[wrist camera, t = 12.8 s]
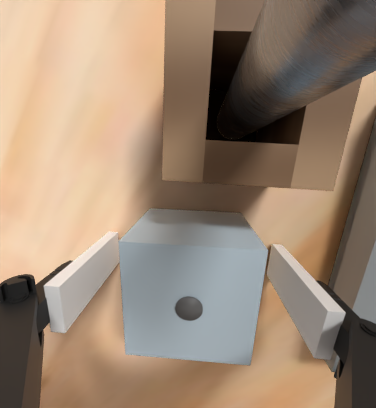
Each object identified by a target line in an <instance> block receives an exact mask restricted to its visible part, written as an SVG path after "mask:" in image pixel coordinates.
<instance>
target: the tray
mask: <svg viewBox="0 0 376 408" xmlns="http://www.w3.org/2000/svg"><path fill="white" fill-rule="evenodd" d="M328 286H329V287H330V288H331V289H332V290H333V291H334V292H335V294H336V295H338V296H339V297H340V298H341V300H343V301H344V302H345V303H346V304H347V305H348V306H349V307H350V308H351V309H352V310H353V311H354V312H355V313H356V314H357V315H358V316H359V317H360V318H361V319H365V320H368V321H371V322H373V323H375V324H376V118H375V122H374V125H373V129H372V132H371V136H370V139H369V143H368V146H367V150H366V153H365V157H364V161H363V164H362V168H361V171H360V175H359V178H358V182H357V185H356V189H355V192H354V196H353V199H352V203H351V206H350V210H349V213H348V217H347V221H346V224H345V228H344V231H343V235H342V238H341V242H340V245H339V249H338V252H337V256H336V259H335V263H334V266H333V270H332V273H331V277H330V281H329V284H328ZM339 359H340V358H339V357H338V355H337V354H336V352H335V351H333V354H332V357H331V360H327V359H324V360H325V362H326V363H327V365H328V366H329V368H330V370H331V371H332V372H335V371H336V368H337V365H338V362H339Z"/></svg>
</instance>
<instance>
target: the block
mask: <svg viewBox="0 0 376 408" xmlns="http://www.w3.org/2000/svg"><path fill="white" fill-rule="evenodd" d="M118 243H119V258H120V274H121V290H122V306H123V321H124V337H125V353H126V354H127V355H138V356H150V357H161V358H172V359H183V360H194V361H205V362H217V363H228V364H239V365H250V364H251V358H252V351H253V345H254V339H255V332H256V326H257V319H258V313H259V306H260V300H261V294H262V287H263V281H264V274H265V268H266V262H267V255H268V249H267V248H266V247H265V245H264V244H263V242H262V241H261V240H260V238H259V237H258V236H257V234H256V233H255V232H254V230H253V229H252V227H251V226H250V225H249V223H248V222H247V221H246V219H245V218H244V217H243V215H242V214H241V213H234V212H214V211H194V210H174V209H154V208H150V209H149V210H148V211H147V212H146V213H145V214H144V215H143V216H142V217H141V218H140V219H139V220H138V221H137V223H136V224H135V225H134V226H133V227H132V228H131V229H130V230H129V231H128V232H127V233H126V234H125V235H124V236H123V237H122V238H121V239H120V240H119V241H118Z"/></svg>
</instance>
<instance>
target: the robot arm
mask: <svg viewBox="0 0 376 408" xmlns="http://www.w3.org/2000/svg"><path fill="white" fill-rule="evenodd" d="M118 263H119V243H118V232H108V233H107V234H105V235H104V236H103V237H102V238H100V239H99V240H98V241H97V242H96V243H94V244H93V245H92V246H91V247H90V248H88V249H87V250H86V251H85V252H84V253H82V254H81V255H80V256H79V257H78V258H76V259H75V260H74V261H68V262H66V263H64V264H62V265H61V266H59V267H58V268H57V269H55V271H53V272H52V273H50V275H48V276H46V277H45V278H44V279H43V280H41V281H40V282H39V283H38V284H36V285H35V279H34V276H32V275H28V274H24V275H18V276H15V277H12V278H9V279H7V280H5V281H3V282H2V283H1V284H0V408H39V407H40V392H41V376H42V360H43V345H44V331H43V329H44V328H45V327H46V326H47V325H48V323H49V322H50V328H51V332H60V333H66V332H67V330H68V329H69V328H70V326H71V325H72V324H73V323H74V321H75V320H76V319H77V317H78V316H79V315H80V313H81V312H82V311H83V309H84V308H85V307H86V305H87V304H88V303H89V301H90V300H91V299H92V297H93V296H94V295H95V294H96V292H97V291H98V290H99V288H100V287H101V286H102V284H103V283H104V282H105V280H106V279H107V278H108V276H109V275H110V274H111V272H112V271H113V270H114V268H115V267H116V266H117V265H118ZM267 276H268V278H269V280H270V282H271V283H272V285H273V287H274V289H275V290H276V292H277V294H278V296H279V297H280V299H281V301H282V303H283V304H284V306H285V308H286V310H287V311H288V313H289V315H290V317H291V318H292V320H293V322H294V324H295V325H296V327H297V329H298V331H299V332H300V334H301V336H302V338H303V340H304V341H305V343H306V345H307V347H308V348H309V350H310V352H311V354H312V355H313V357H314V358H317V359H327V360H331V357H332V354H333V351H335V352H336V354H337V355H338V357H339V358H340V359H339V362H338V365H337V368H336V371H335V374H334V377H335V378H336V379H337V380H336V393H335V406H334V408H376V324H375V323H373V322H371V321H368V320H365V319H361V318H360V317H359V316H358V315H357V314H356V313H355V312H354V311H353V310H352V309H351V308H350V307H349V306H348V305H347V304H346V303H345V302H344V301H343V300H341V298H340V297H339V296H338V295H336V294H335V292H334V291H333V290H332V289H331V288H330V287H329V286H327V285H326V284H324V283H323V282H321V281H316V280H315V279H314V278H313V277H312V276H311V275H310V274H309V273H308V272H307V271H306V270H305V269H304V268H303V267H302V266H301V265H300V263H299V262H298V261H297V260H296V259H295V258H294V257H293V256H292V255H291V254H290V253H289V252H288V251H287V250H286V249H285V247H284V246H283V245H281V244H272V246H271V252H270V257H269V263H268V268H267Z"/></svg>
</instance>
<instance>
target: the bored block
mask: <svg viewBox="0 0 376 408" xmlns="http://www.w3.org/2000/svg"><path fill="white" fill-rule="evenodd" d="M264 1H265V0H166V4H165V54H164V104H163V155H162V180H167V181H183V182H199V183H214V184H230V185H246V186H262V187H278V188H294V189H310V190H326V191H333V190H334V186H335V182H336V178H337V174H338V170H339V166H340V162H341V158H342V155H343V151H344V147H345V143H346V139H347V135H348V131H349V127H350V123H351V119H352V115H353V111H354V107H355V103H356V99H357V95H358V91H359V88H360V84H361V80H362V78H360V79H358V80H356V81H354V82H352V83H350V84H348V85H346V86H344V87H342V88H340V89H338V90H336V91H334V92H332V93H330V94H328V95H326V96H324V97H322V98H320V99H318V100H316V101H314V102H312V103H310V104H308V105H306V106H304V107H302V108H300V109H298V110H296V111H294V112H292V113H290V114H288V115H286V116H284V117H282V118H280V119H278V120H276V121H274V122H272V123H270V124H268V125H266V126H264V127H262V128H260V129H258V130H257V136H256V142H236V141H217V140H206V127H207V113H208V100H209V90H216V91H228V89H229V86H230V84H231V82H232V79H233V77H234V74H235V72H236V69H237V67H238V64H239V62H240V60H241V57H242V55H243V52H244V50H245V47H246V45H247V42H248V40H249V37H250V35H251V33H252V30H253V28H254V25H255V23H256V20H257V18H258V15H259V13H260V11H261V8H262V6H263V3H264Z"/></svg>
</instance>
